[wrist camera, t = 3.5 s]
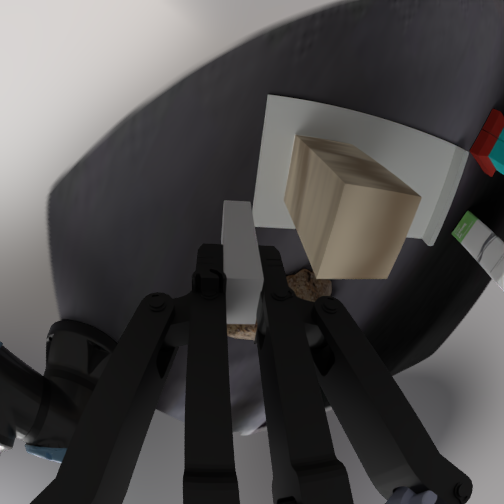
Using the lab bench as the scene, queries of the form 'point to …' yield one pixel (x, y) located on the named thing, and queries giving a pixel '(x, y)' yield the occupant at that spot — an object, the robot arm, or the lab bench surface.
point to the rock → (303, 288)
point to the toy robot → (490, 144)
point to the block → (347, 209)
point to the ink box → (482, 246)
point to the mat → (368, 141)
